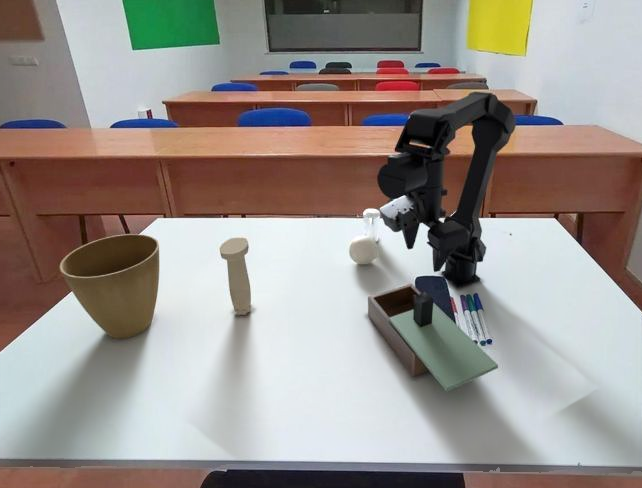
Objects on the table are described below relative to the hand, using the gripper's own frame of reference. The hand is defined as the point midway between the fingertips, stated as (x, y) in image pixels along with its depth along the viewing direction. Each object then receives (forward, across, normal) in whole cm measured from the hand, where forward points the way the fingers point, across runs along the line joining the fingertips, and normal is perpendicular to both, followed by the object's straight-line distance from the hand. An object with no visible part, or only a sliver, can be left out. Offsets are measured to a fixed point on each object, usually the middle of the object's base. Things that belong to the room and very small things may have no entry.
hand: (422, 259), depth 75 cm
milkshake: (+12, -31, +5) cm, 34 cm away
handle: (+12, -16, -32) cm, 38 cm away
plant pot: (+12, -21, -52) cm, 57 cm away
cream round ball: (+12, -22, -2) cm, 25 cm away
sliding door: (+7, +13, -5) cm, 16 cm away
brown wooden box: (+12, +5, -5) cm, 14 cm away
